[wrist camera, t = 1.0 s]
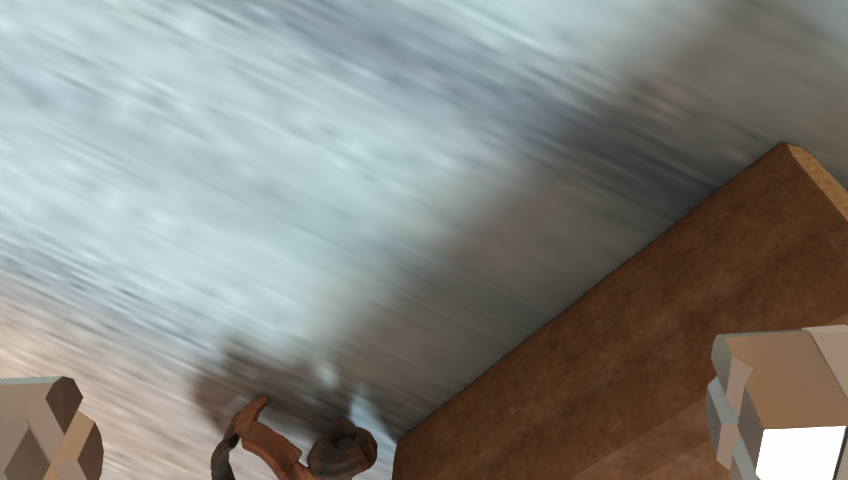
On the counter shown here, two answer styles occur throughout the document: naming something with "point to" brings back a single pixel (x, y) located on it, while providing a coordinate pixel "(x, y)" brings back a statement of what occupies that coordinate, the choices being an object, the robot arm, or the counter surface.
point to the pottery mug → (296, 449)
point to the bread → (650, 342)
